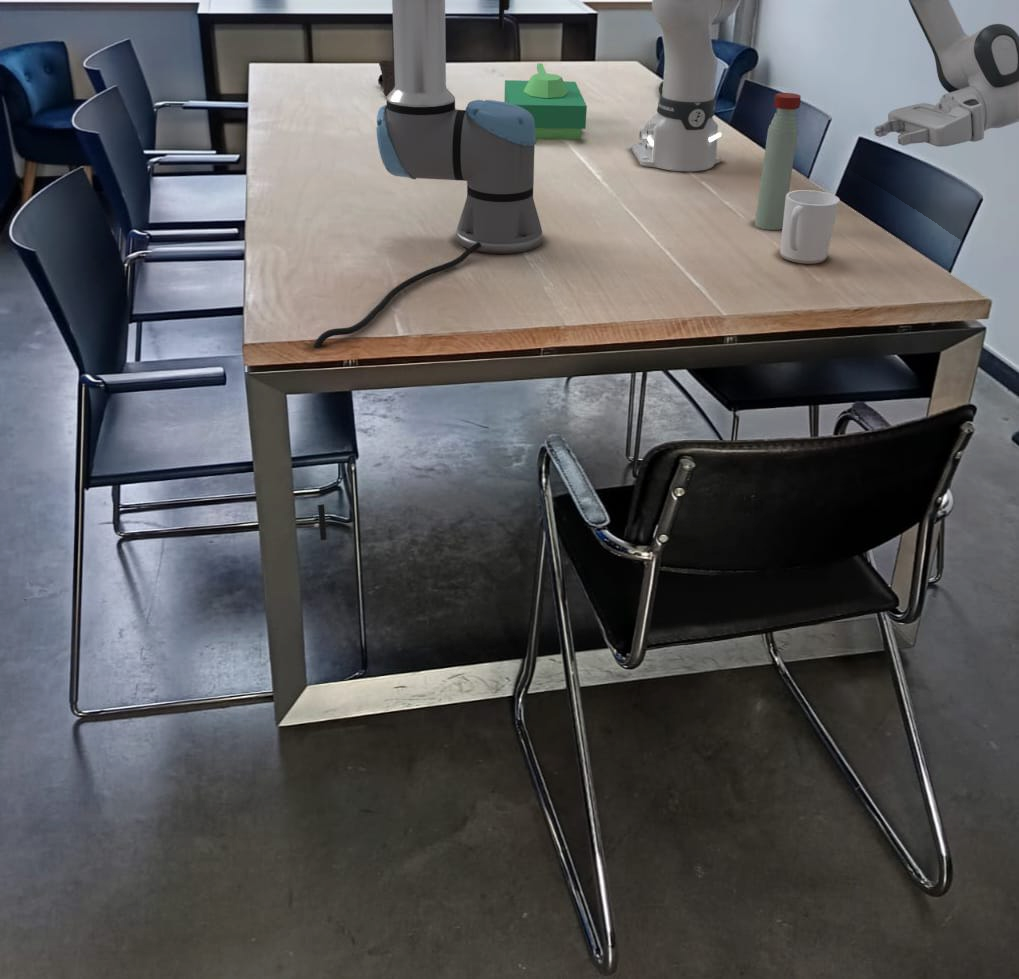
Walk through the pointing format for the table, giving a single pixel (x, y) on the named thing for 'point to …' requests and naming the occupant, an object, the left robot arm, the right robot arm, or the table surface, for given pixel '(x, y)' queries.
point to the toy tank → (550, 105)
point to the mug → (808, 225)
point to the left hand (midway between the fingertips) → (468, 26)
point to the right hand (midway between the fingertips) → (887, 136)
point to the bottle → (777, 169)
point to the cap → (787, 101)
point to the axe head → (387, 76)
